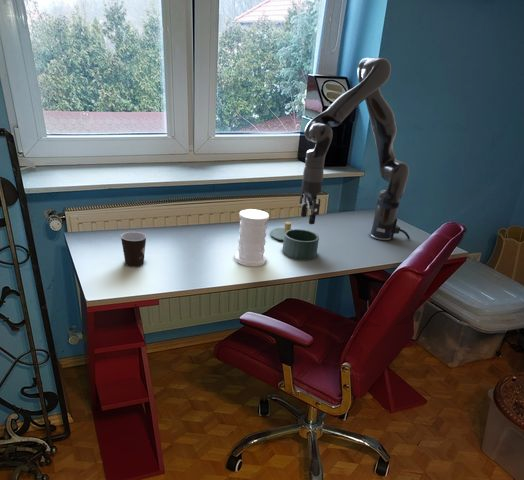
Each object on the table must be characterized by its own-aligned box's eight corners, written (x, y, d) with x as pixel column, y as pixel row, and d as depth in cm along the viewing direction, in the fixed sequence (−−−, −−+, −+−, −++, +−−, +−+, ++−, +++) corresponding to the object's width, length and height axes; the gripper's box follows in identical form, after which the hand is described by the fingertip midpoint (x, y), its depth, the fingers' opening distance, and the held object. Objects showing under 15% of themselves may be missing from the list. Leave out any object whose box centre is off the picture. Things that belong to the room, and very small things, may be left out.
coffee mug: (135, 270, 185) (134, 242, 180) (117, 262, 189) (115, 236, 183) (157, 260, 194) (157, 234, 188) (139, 253, 197) (139, 228, 192)
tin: (308, 246, 220) (311, 228, 216) (321, 259, 209) (324, 241, 205) (277, 247, 216) (280, 229, 212) (289, 260, 205) (291, 242, 201)
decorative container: (230, 255, 204) (233, 209, 195) (258, 253, 209) (262, 208, 199) (241, 267, 196) (245, 220, 186) (270, 264, 200) (275, 218, 190)
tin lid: (296, 230, 235) (298, 216, 232) (308, 242, 224) (310, 228, 220) (265, 230, 231) (266, 217, 227) (275, 243, 219) (277, 229, 216)
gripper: (329, 184, 196) (323, 226, 204) (314, 173, 207) (309, 213, 216) (310, 184, 193) (305, 227, 202) (296, 173, 204) (292, 214, 213)
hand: (307, 220), depth 209 cm, fingers open, 8 cm apart
